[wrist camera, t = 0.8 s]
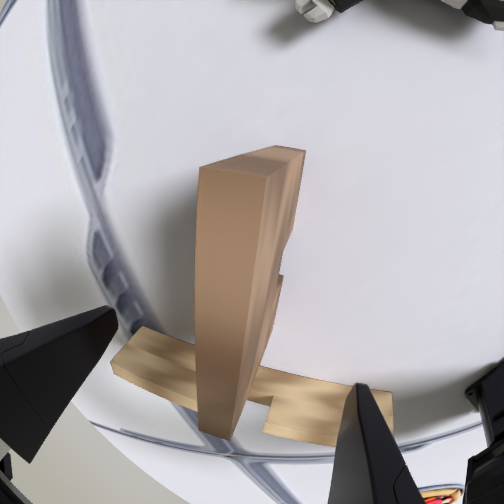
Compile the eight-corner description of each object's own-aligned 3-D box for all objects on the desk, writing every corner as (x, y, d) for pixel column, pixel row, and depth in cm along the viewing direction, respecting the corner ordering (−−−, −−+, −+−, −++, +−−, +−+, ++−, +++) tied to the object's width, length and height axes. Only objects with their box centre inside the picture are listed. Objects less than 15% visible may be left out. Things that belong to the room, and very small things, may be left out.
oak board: (391, 392, 19) (393, 442, 14) (383, 403, 20) (383, 452, 15) (142, 325, 23) (109, 361, 19) (144, 338, 24) (114, 374, 19)
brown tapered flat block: (275, 145, 14) (199, 167, 6) (305, 150, 14) (266, 177, 6) (250, 324, 20) (198, 430, 12) (272, 330, 19) (229, 440, 11)
